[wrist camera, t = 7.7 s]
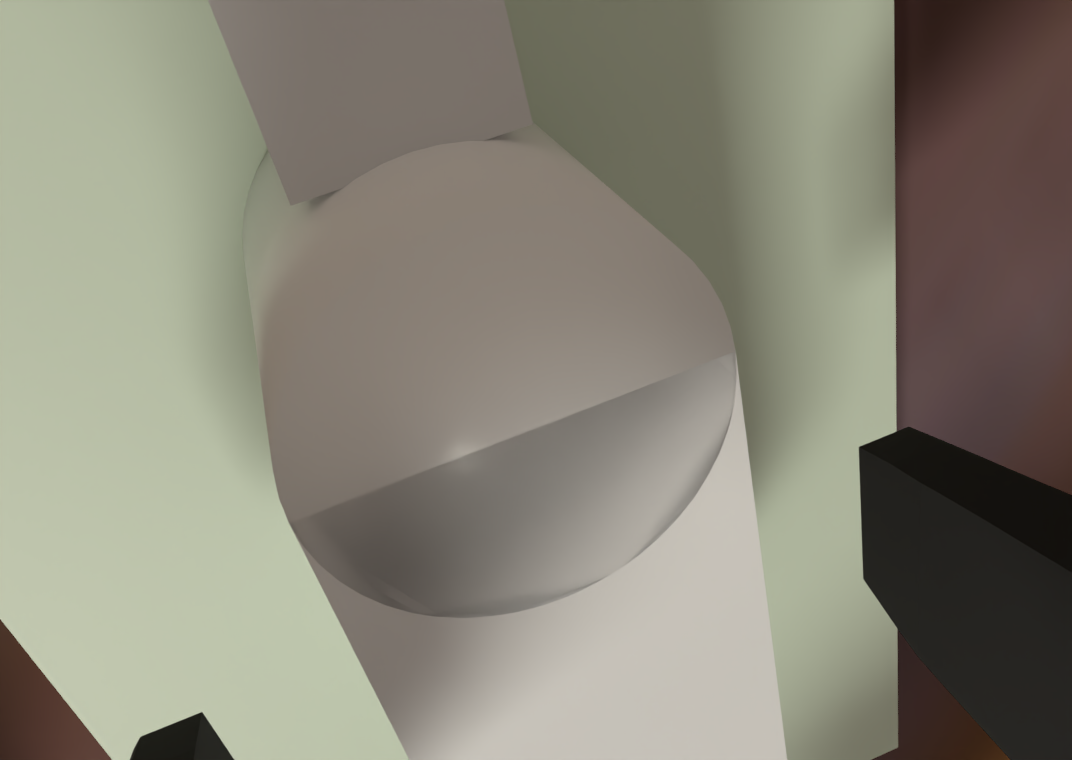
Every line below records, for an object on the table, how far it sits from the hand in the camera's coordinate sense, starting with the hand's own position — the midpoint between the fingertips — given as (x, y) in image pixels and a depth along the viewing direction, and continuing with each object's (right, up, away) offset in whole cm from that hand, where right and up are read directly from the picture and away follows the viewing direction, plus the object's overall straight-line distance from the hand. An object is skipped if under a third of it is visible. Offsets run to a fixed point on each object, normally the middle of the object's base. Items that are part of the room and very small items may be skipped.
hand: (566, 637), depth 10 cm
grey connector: (-1, +2, +2) cm, 3 cm away
